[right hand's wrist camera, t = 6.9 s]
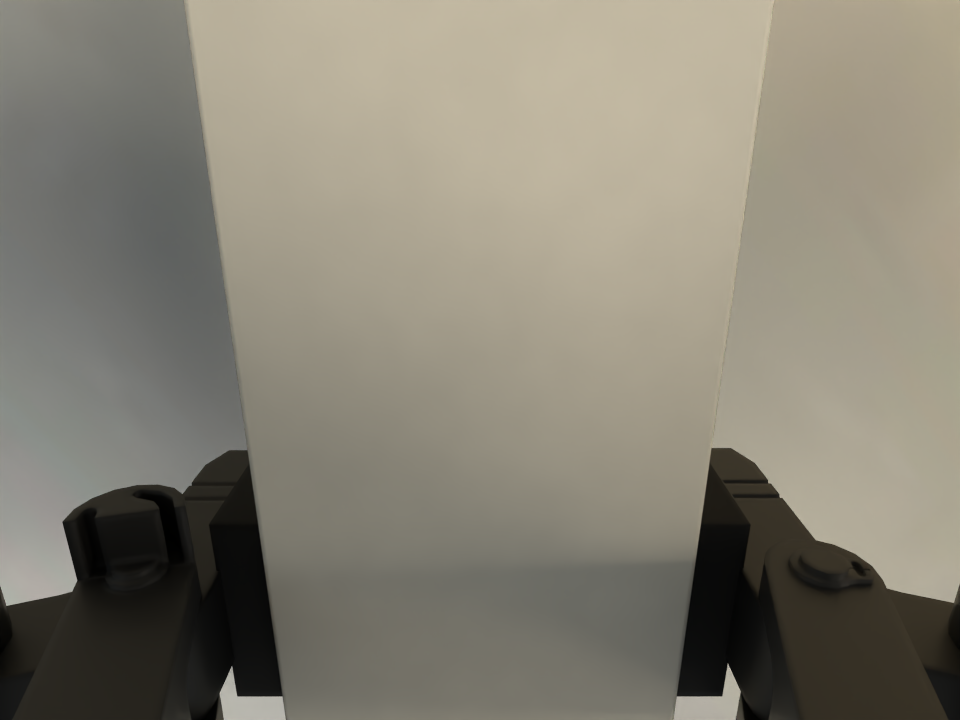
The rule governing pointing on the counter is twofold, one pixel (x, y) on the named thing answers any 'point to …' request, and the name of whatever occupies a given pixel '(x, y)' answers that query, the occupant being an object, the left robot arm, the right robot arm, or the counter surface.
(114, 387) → the counter surface
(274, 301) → the beam
